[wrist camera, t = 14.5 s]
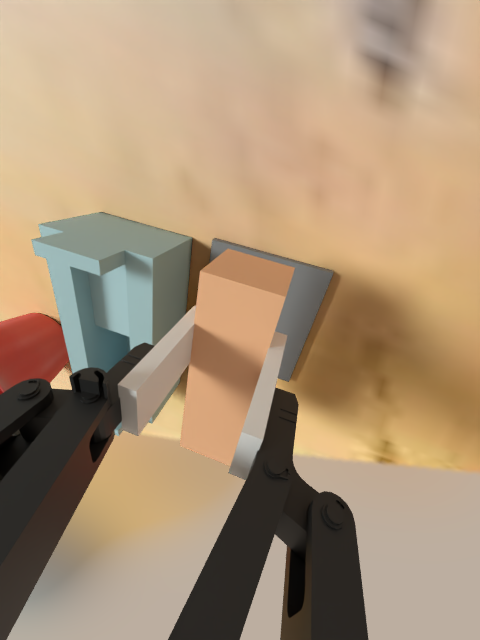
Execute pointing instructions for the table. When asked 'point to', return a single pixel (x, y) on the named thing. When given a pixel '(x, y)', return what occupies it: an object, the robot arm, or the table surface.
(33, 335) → the flower pot
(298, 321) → the mat
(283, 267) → the bar
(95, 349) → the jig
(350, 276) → the table surface
